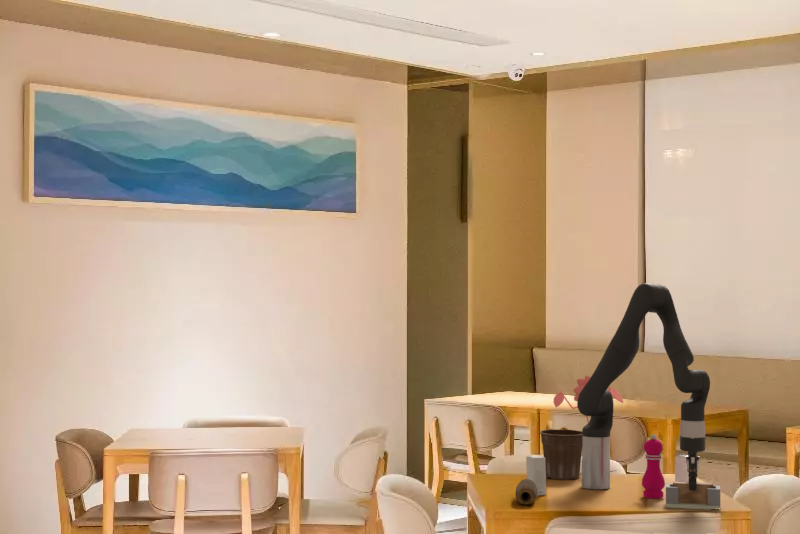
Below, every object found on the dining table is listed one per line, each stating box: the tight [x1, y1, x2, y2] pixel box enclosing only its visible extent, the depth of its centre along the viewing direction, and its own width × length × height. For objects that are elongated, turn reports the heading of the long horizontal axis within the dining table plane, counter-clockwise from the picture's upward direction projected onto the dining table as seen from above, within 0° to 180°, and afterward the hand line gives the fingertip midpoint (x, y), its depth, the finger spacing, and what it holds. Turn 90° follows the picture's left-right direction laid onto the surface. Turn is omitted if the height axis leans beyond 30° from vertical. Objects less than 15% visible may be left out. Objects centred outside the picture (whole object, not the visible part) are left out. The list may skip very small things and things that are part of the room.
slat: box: [672, 481, 714, 504], centre depth 359 cm, size 12×3×6 cm, turn 77°
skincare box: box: [525, 454, 547, 496], centre depth 379 cm, size 6×4×12 cm
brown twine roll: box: [515, 478, 538, 505], centre depth 364 cm, size 15×7×7 cm, turn 177°
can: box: [674, 453, 689, 482], centre depth 386 cm, size 6×6×12 cm
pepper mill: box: [641, 433, 666, 500], centre depth 375 cm, size 7×7×20 cm
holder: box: [665, 483, 721, 510], centre depth 359 cm, size 16×9×6 cm, turn 77°
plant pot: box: [539, 429, 583, 481], centre depth 415 cm, size 16×16×16 cm
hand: (692, 488), depth 359 cm, fingers open, 8 cm apart
